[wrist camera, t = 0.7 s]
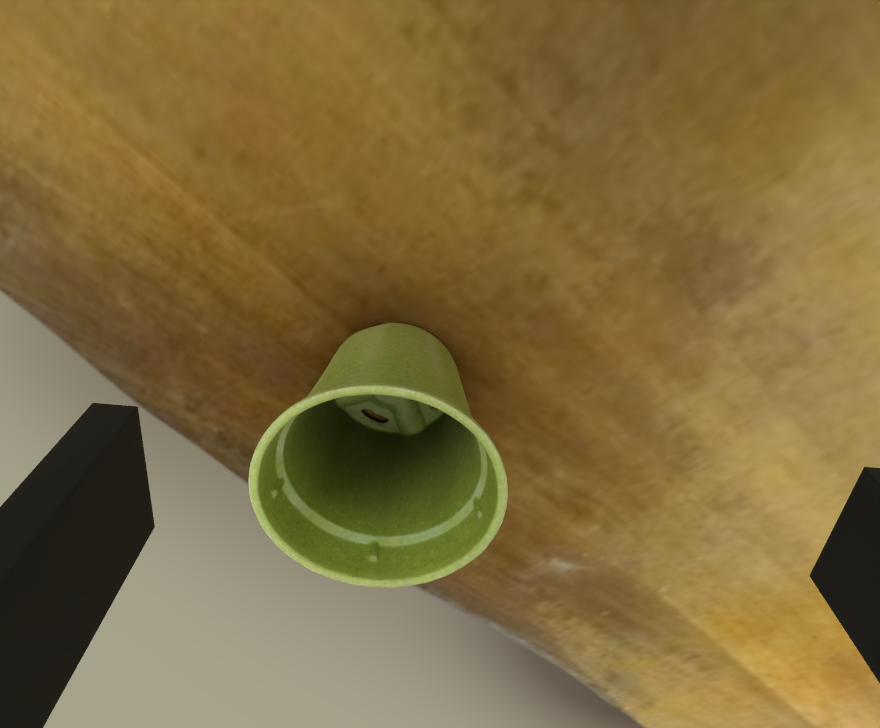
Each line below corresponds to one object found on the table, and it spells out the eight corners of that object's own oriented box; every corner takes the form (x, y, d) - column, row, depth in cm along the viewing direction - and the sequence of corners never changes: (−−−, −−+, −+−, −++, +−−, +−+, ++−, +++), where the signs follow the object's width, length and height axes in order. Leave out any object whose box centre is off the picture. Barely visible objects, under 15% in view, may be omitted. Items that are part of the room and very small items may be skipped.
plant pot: (442, 482, 34) (442, 616, 27) (270, 419, 33) (217, 545, 25) (526, 336, 30) (555, 445, 23) (335, 255, 28) (296, 344, 21)
